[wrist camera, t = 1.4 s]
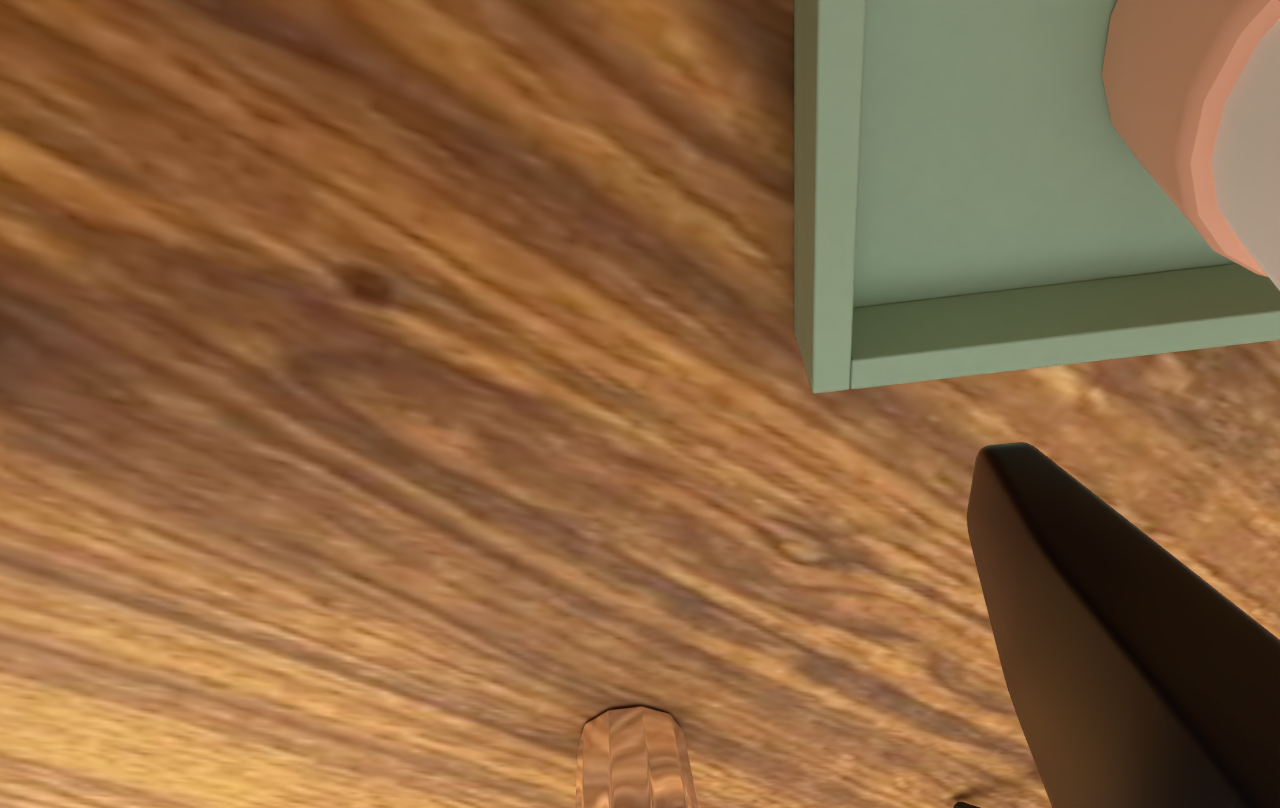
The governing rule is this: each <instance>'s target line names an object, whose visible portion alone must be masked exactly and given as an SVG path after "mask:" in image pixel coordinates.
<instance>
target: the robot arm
mask: <svg viewBox="0 0 1280 808" xmlns="http://www.w3.org/2000/svg"><path fill="white" fill-rule="evenodd" d="M967 526H968V533H969V538H970V542H971V546H972V550H973V554H974V558H975V562H976V566H977V570H978V574H979V578H980V582H981V586H982V590H983V594H984V598H985V602H986V606H987V610H988V614H989V618H990V622H991V626H992V630H993V634H994V638H995V642H996V646H997V650H998V654H999V658H1000V662H1001V666H1002V669H1003V673H1004V677H1005V680H1006V684H1007V688H1008V691H1009V694H1010V697H1011V699H1012V702H1013V705H1014V708H1015V711H1016V714H1017V716H1018V719H1019V722H1020V724H1021V727H1022V730H1023V732H1024V735H1025V737H1026V740H1027V743H1028V745H1029V748H1030V750H1031V753H1032V756H1033V758H1034V761H1035V763H1036V766H1037V769H1038V771H1039V774H1040V776H1041V779H1042V782H1043V784H1044V787H1045V790H1046V792H1047V795H1048V797H1049V800H1050V803H1051V805H1052V808H1280V640H1279V639H1278V638H1277V637H1275V636H1274V635H1273V634H1271V633H1270V632H1269V631H1268V630H1266V629H1265V628H1264V627H1263V626H1261V625H1260V624H1259V623H1258V622H1256V621H1255V620H1254V619H1252V618H1251V617H1250V616H1249V615H1247V614H1246V613H1245V612H1244V611H1242V610H1241V609H1240V608H1238V607H1237V606H1236V605H1235V604H1233V603H1232V602H1231V601H1230V600H1228V599H1227V598H1226V597H1225V596H1223V595H1222V594H1221V593H1219V592H1218V591H1217V590H1216V589H1214V588H1213V587H1212V586H1211V585H1209V584H1208V583H1207V582H1205V581H1204V580H1203V579H1202V578H1200V577H1199V576H1198V575H1197V574H1195V573H1194V572H1193V571H1191V570H1190V569H1189V568H1188V567H1186V566H1185V565H1184V564H1183V563H1181V562H1180V561H1179V560H1178V559H1176V558H1175V557H1174V556H1172V555H1171V554H1170V553H1169V552H1167V551H1166V550H1165V549H1164V548H1162V547H1161V546H1160V545H1158V544H1157V543H1156V542H1155V541H1153V540H1152V539H1151V538H1150V537H1148V536H1147V535H1146V534H1145V533H1143V532H1142V531H1141V530H1139V529H1138V528H1137V527H1136V526H1134V525H1133V524H1132V523H1131V522H1129V521H1128V520H1127V519H1125V518H1124V517H1123V516H1122V515H1120V514H1119V513H1118V512H1117V511H1115V510H1114V509H1113V508H1112V507H1110V506H1109V505H1108V504H1106V503H1105V502H1104V501H1103V500H1101V499H1100V498H1099V497H1098V496H1096V495H1095V494H1094V493H1092V492H1091V491H1090V490H1089V489H1087V488H1086V487H1085V486H1084V485H1082V484H1081V483H1080V482H1078V481H1077V480H1076V479H1075V478H1073V477H1072V476H1071V475H1070V474H1068V473H1067V472H1066V471H1065V470H1063V469H1062V468H1061V467H1059V466H1058V465H1057V464H1056V463H1054V462H1053V461H1052V460H1051V459H1049V458H1048V457H1047V456H1045V455H1044V454H1043V453H1042V452H1040V451H1039V450H1038V449H1037V448H1035V447H1034V446H1032V445H1030V444H1028V443H1023V442H1019V443H1009V444H999V445H989V446H986V447H983V448H982V449H981V450H980V451H979V453H978V455H977V457H976V462H975V468H974V474H973V480H972V486H971V492H970V497H969V503H968V510H967Z"/></svg>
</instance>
